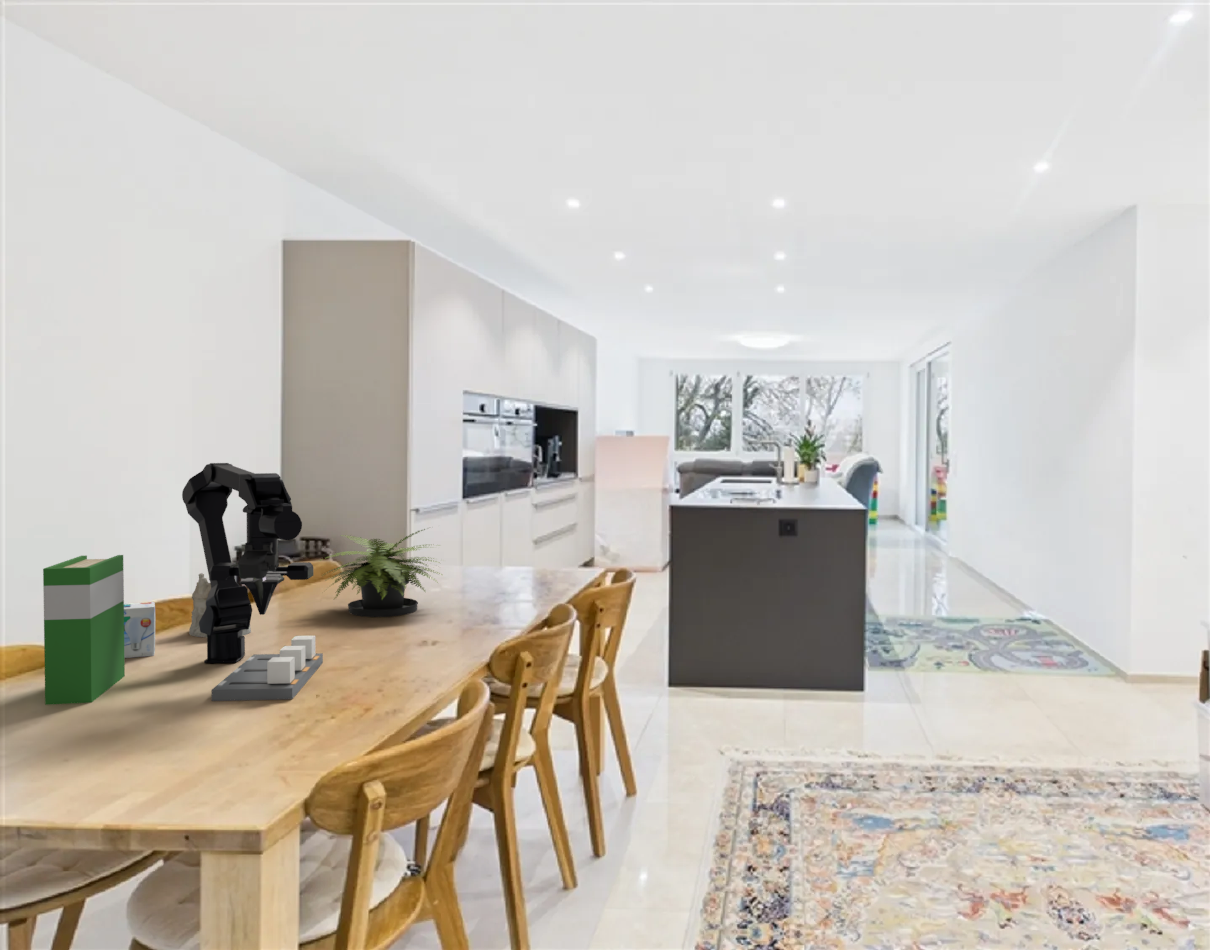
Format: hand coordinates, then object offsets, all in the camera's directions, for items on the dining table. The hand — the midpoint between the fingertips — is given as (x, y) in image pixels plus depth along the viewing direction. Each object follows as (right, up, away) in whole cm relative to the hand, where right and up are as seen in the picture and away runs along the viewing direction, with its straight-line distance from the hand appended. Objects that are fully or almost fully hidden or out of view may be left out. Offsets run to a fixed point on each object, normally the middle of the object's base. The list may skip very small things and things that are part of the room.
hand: (262, 614), depth 174 cm
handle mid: (+7, -10, -4) cm, 13 cm away
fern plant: (+7, -10, +67) cm, 68 cm away
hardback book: (-28, -12, -11) cm, 33 cm away
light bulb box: (-35, -11, +15) cm, 40 cm away
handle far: (+6, -10, +5) cm, 13 cm away
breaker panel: (+3, -12, -4) cm, 13 cm away
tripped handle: (+8, -10, -13) cm, 18 cm away
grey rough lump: (-24, -11, +39) cm, 48 cm away
